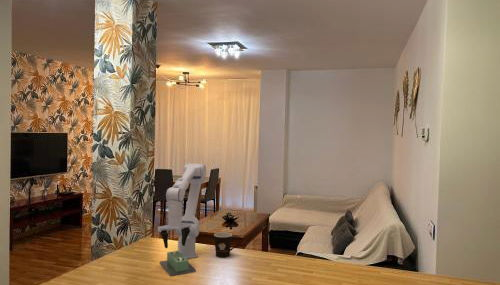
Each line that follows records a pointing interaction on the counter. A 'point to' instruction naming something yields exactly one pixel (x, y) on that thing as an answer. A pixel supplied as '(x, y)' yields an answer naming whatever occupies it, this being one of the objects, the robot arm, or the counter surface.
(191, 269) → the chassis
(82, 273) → the counter surface
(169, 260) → the green block with holes
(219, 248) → the coffee mug
